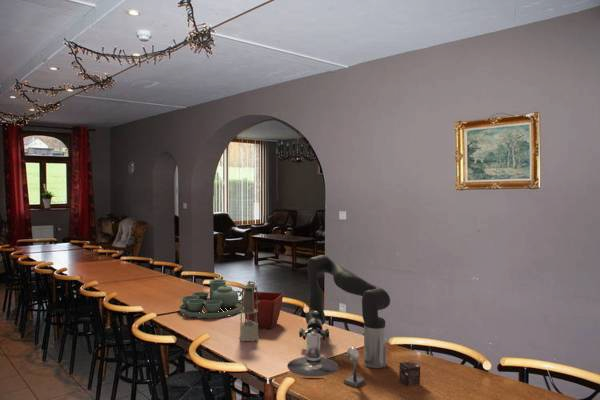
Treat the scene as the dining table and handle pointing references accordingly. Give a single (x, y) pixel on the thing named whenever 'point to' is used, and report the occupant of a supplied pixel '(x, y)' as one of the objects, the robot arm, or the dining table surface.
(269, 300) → the plant pot
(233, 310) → the tea set
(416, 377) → the box
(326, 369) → the turntable
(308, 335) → the cover
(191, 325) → the dining table surface
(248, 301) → the lamp
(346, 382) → the stand
